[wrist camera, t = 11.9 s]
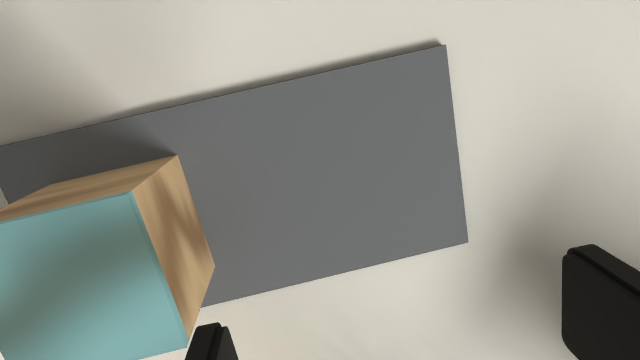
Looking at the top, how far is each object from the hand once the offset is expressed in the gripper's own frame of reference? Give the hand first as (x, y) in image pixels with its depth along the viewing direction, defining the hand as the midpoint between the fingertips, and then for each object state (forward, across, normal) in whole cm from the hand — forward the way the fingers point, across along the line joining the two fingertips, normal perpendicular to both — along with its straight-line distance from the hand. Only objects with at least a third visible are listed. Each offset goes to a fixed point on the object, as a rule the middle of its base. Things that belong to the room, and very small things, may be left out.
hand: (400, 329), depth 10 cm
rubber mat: (+13, +6, 0) cm, 14 cm away
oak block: (+5, +12, 0) cm, 13 cm away
